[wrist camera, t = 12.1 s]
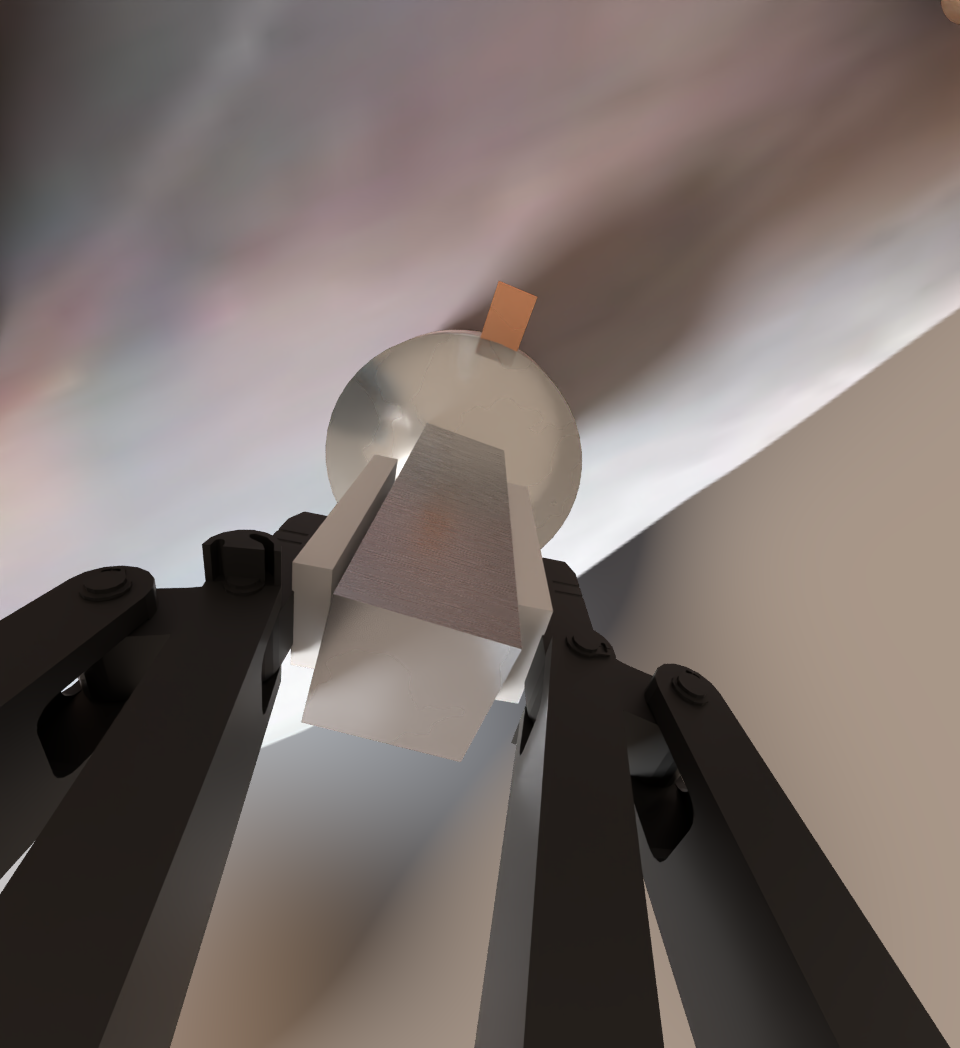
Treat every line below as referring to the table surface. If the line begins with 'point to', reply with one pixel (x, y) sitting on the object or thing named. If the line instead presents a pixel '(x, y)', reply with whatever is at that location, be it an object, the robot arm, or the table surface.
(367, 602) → the lid
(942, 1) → the oil lamp
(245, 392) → the table surface
